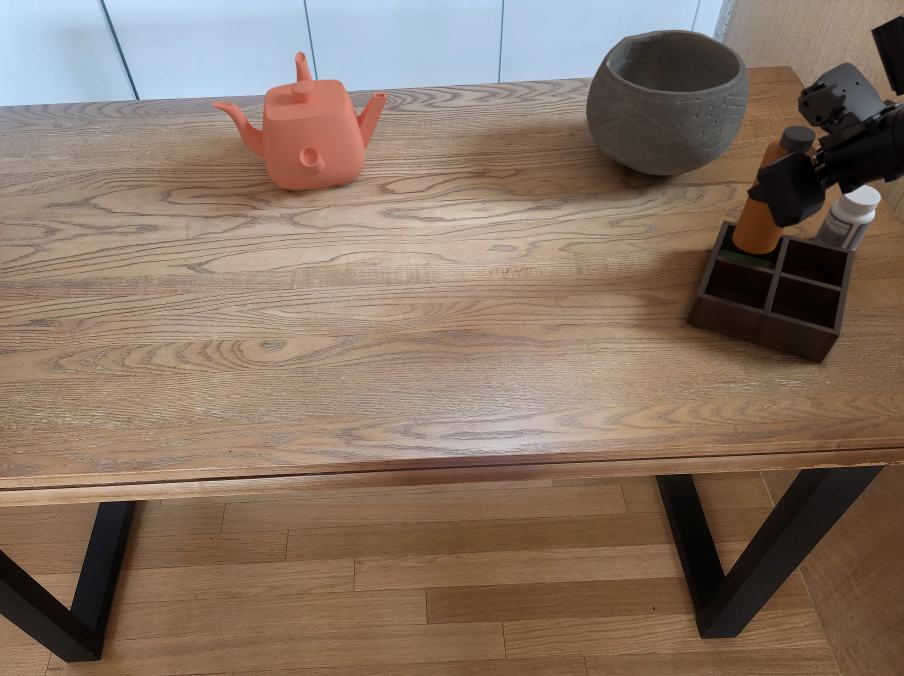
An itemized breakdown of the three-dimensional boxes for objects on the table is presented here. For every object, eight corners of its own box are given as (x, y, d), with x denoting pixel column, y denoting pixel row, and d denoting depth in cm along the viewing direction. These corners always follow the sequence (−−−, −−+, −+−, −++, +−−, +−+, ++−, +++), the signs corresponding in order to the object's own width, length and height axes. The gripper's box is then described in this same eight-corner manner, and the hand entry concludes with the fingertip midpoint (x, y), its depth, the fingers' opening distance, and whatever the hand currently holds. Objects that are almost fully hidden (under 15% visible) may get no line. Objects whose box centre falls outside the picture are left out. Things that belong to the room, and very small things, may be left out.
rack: (837, 279, 81) (855, 250, 78) (821, 363, 73) (840, 335, 70) (713, 248, 86) (723, 219, 83) (685, 323, 78) (696, 295, 75)
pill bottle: (845, 237, 86) (877, 181, 79) (857, 261, 83) (891, 206, 76) (806, 236, 86) (834, 181, 80) (817, 261, 83) (847, 206, 77)
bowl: (744, 198, 92) (785, 95, 81) (591, 206, 93) (610, 105, 82) (701, 117, 105) (731, 18, 94) (568, 124, 107) (581, 28, 95)
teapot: (234, 182, 103) (208, 97, 92) (314, 126, 111) (298, 43, 101) (322, 222, 95) (303, 134, 84) (399, 159, 104) (392, 72, 93)
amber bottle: (785, 246, 78) (837, 137, 67) (752, 259, 77) (799, 151, 66) (755, 223, 80) (800, 115, 70) (723, 235, 79) (764, 128, 69)
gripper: (945, 17, 61) (793, 88, 76) (816, 86, 55) (678, 148, 70) (983, 131, 63) (827, 179, 77) (861, 209, 57) (718, 245, 71)
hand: (764, 185), depth 74 cm, fingers closed on amber bottle, 5 cm apart
